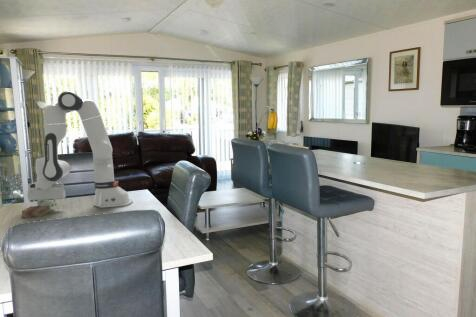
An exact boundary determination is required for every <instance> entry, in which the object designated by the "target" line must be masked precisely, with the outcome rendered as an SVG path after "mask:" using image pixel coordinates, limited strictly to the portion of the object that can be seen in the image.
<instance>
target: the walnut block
mask: <svg viewBox="0 0 476 317" xmlns="http://www.w3.org/2000/svg"><path fill="white" fill-rule="evenodd" d="M50 212H51V211H50V210H49V206H38V205H33V206H29V207H27V208H25V209H23V210H21V217H22V218H40V217H41V218H42V217H43V216H45V215H46V214H48V213H50Z"/></svg>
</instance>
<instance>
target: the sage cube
mask: <svg viewBox="0 0 476 317" xmlns="http://www.w3.org/2000/svg"><path fill="white" fill-rule="evenodd" d="M53 203H54V201H53V200H47V201H43V202H41V206H49V210H50V212H51V211H52V210H55V208H56V206H55V207H52V204H53Z"/></svg>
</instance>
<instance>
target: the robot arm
mask: <svg viewBox="0 0 476 317" xmlns="http://www.w3.org/2000/svg"><path fill="white" fill-rule="evenodd" d="M74 111H75V112H76V113H78V115H79V117H80V121H81V123H82V126H83V128H84V131H85V134H86V137H87V139H88V143H89V146H90V148H91V149H90V150H91V151H92V158H93V159H92V160H93V161H92V162H93V175H94V176H93V177H94V186H93V187H94V188H93V189H94V192H95V193H94V196H95V197H94V202H93V203H94V204H93V206H95V207H98V208H101V209H102V208H113V207H124V206H125V207H126V206H130V205H131V204H132V203H133V198H130V197H129V194H128V192H127V191H126V190H125V189H123V188H122V187H120V186H119V181H118V180H115V174H114V171H115V170H114V162H113V161H114V160H113V146H112V142H111V141H110V138H109V135H108V132H107V130H106V127H105V124H104V121H103V118H102V115H101V113H100V110H99V108H98V106H97V105H96V103H95V101H94V100H92V99H87V98H85V99H82V98H81V97H80V96H78V94H77V93H75V92H73V91H71V90H65V91H63V92H61V93H60V94H59V95H58V97H57V102H56V103H53V104H49V105H47V106H45V108H44V113H43V114H44V116H43V120H44V133H45V136H44V155H43V156H39V157H37V158H36V160H35V174H36V182H35V181H33V182H32V183H29V184H28V186H27V188H28V189H27V199H28V201H37V200H38V203H39V204H40V206H41V201H42V200H52V199H53V201H54V203H53V204H52V207H55V208H56V205H57V204H56V205H55V203H57V202H58V200H64V199H65V198H66V191H65V189H66V188H65V184H64V183H61V182H59V183H58V182H57V181H59V180H60V179H62V178H64V177H66V176H68V175H69V174H70V173H71V165H70V163H69V162H68V161H66V160H62V159H59V156H58V154H59V150H58V148H59V144H60V143H61V141H63V139H64V138H65V137H66V135H67V118H66V116H67V113H71V112H74ZM54 181H55V183H54Z"/></svg>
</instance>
